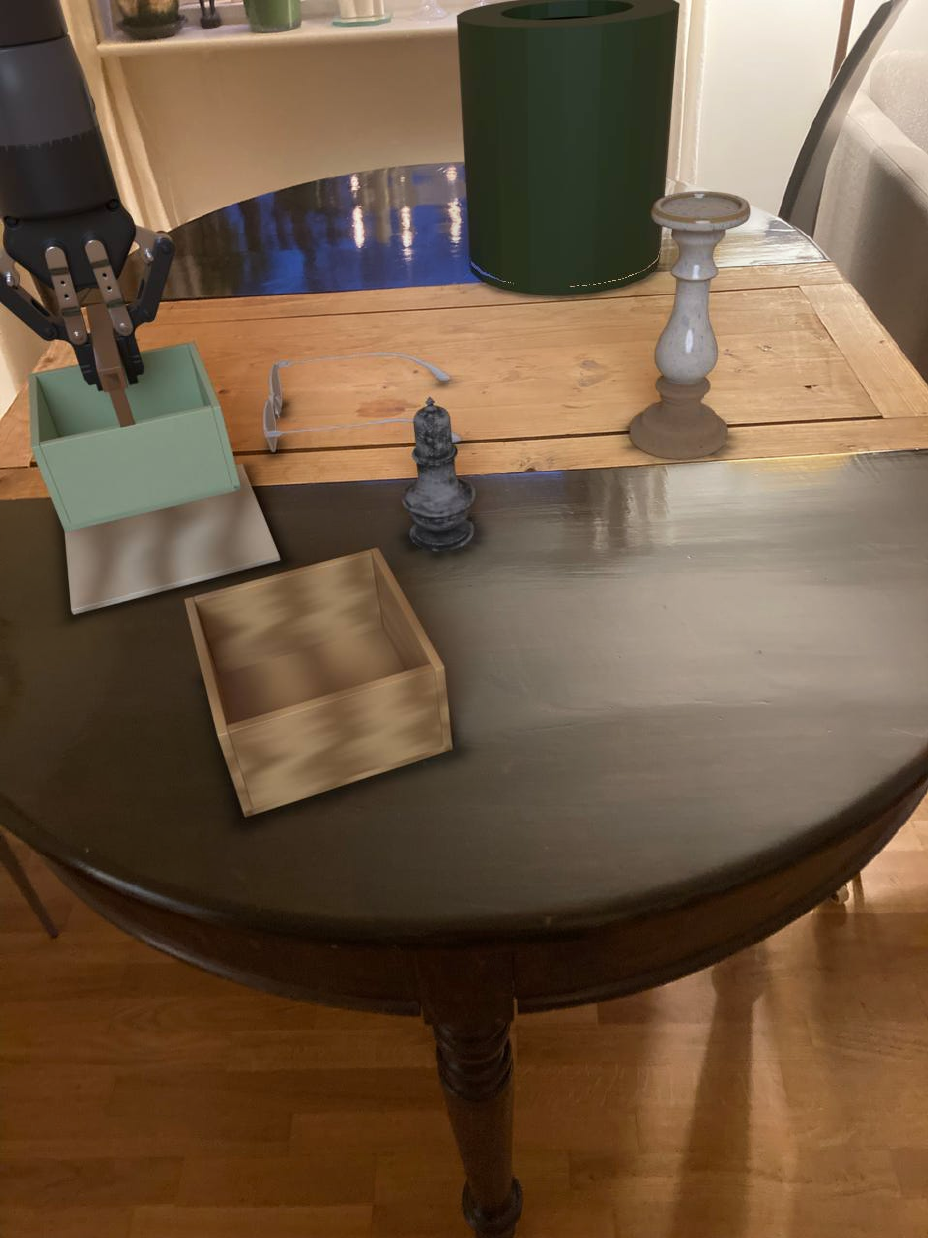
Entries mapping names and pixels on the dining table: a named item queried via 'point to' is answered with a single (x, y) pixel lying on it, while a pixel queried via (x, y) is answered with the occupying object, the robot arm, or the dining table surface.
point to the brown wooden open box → (318, 679)
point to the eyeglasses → (272, 432)
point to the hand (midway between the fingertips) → (118, 382)
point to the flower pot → (566, 139)
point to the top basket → (128, 433)
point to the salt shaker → (437, 485)
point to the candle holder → (688, 329)
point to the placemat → (167, 548)
